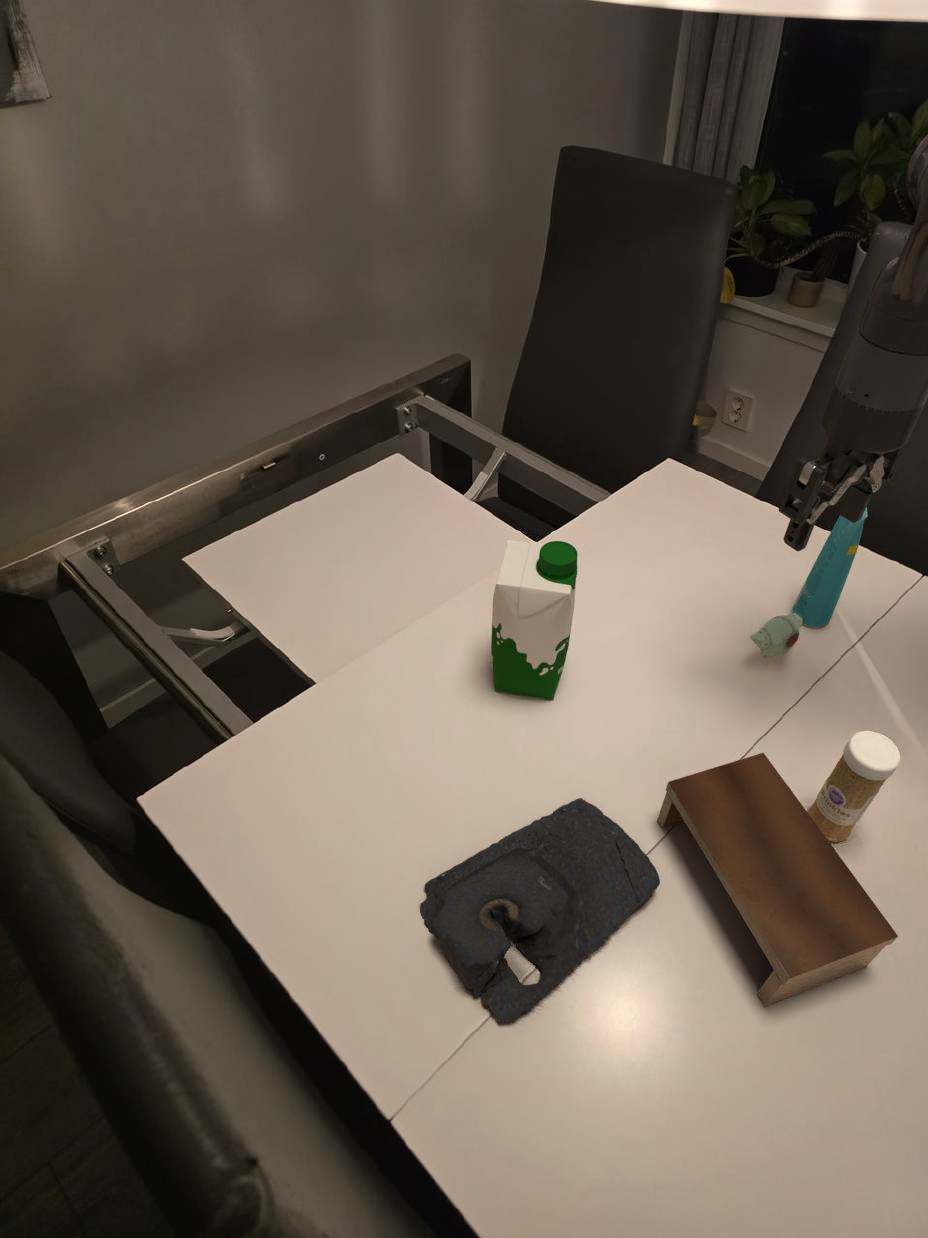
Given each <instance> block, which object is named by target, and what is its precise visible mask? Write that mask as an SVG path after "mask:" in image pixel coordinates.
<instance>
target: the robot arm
mask: <svg viewBox="0 0 928 1238" xmlns="http://www.w3.org/2000/svg"><path fill="white" fill-rule="evenodd" d="M905 187H906V188H905V189H906V192H907V195H908V198H909V200H910V201H911V203H912V205H913V207H914V208H915V209H916V211H917V212H916V215H915V219H914V222H913V225H912V228H911V230H910V232H909V235H908V238H907V239H906V242H905V243H904V246H903V248H902V250H901V251H900V254H899V256H897V257H895V258H893V259H892V260H890V261H889V262H888V263H886V264H885V266H884V267H883V268H882V270H881V271H880V273H879V275H878V277H877V279H876V281H875V283H874V285H873V288H872V290H871V293H870V296H869V298H868V301H867V303H866V307H865V309H864V312H863V315H862V317H861V319H860V322H859V324H858V325H859V326H858V328H857V330H856V332H855V334H854V336H853V338H852V340H851V342H850V344H849V346H848V348H847V350H846V352H845V354H844V357H843V359H842V362H841V365H840V367H839V370H838V373H837V376H836V377H835V381H834V384H833V387H832V390H831V392H830V395H829V398H828V400H827V403H826V406H825V408H824V411H823V414H822V416H821V423H820V424H821V427H822V430H823V432H824V434H825V436H826V439H827V443H826V445H825V446H824V448H823V450H822V451H821V453H820V454H819V456H818V458H817V459H815V460H813V461H812V460H810V459H808V458H807V457H805V456H803V457H801V458H800V459H799V460H798V461H797V463H796V465H795V466H794V469H793V472H792V473H791V474H792V475H791V477H790V479H789V482H788V484H787V487H786V490H785V492H784V495H783V497H782V499H781V502H780V505H779V507H778V512H779V513H780V514H782V515H783V516H785V517H787V518H788V519H790V520H789V522H788V524H787V528H786V530H785V533H784V536H783V538H782V539H783V543H784V544H785V545H787V546H788V547H790V548H791V549H793V550H794V551H796V552H801V551H802V550H805V549H806V548H807V545H808V544H809V541H810V538H811V535H812V533H813V530H814V528H815V525H816V524H817V519H818V518H819V517H820V516H821V514H822V513H823V512H824V511H825V510H826V508H827V507H829V506H834V505H836V504H837V503H838V501H839V500H840V499H841V498H842V496H843V495H844V494H845V495H844V498H843V500H842V502H841V505H840V507H839V509H838V513H839V516H840V515H841V516H842V517H844V518H846V519H847V520H849V521H850V522H852V523H855V522H857V521H859V520H861V518H862V516H863V514H864V512H865V509H866V507H867V508H868V506H869V502H870V501H871V498H872V496H873V493H876V492H878V491H879V489H880V488H881V486H882V484H883V481H886V482H890V481H891V480H893V479H894V477H895V476H896V473H897V470H898V468H899V466H900V464H901V461H902V459H903V457H904V454H905V452H906V450H907V449H908V448H907V447H908V445H909V443H910V441H911V438H912V436H913V433H914V428H915V426H916V425H917V422H918V420H919V418H920V416H921V414H922V411H923V410H924V407H925V405H926V403H927V401H928V134H927V135H925V137H924V138H923V139H922V140H921V141H920V142H919V144H918V145H917V146H916V148H915V150H914V151H913V153H912V154H911V156H910V158H909V161H908V164H907V167H906V171H905ZM885 459H887V460H888V464H887V465H886V464H884V463H885ZM824 485H825V486H828V487H829V488H830V489H833V490H831V491H829V492H826V491H824V490H823V489H821V488H822V486H824ZM817 498H818V501H817V502H816V500H817ZM815 502H816V504H815ZM814 504H815V505H814Z"/></svg>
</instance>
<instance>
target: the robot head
mask: <svg viewBox="0 0 928 1238" xmlns="http://www.w3.org/2000/svg"><path fill="white" fill-rule="evenodd" d="M802 625H803V624H802V618H801V617H800V616H799V615H797V614H796V613H793V614H792V613H790V614H784V615H783V614H782V615H776V616H773V617H771V618H770V619H768V620H767V621H765V622H764V624H763V625H762V626H761V627H760V628H759V629H758V630H757V631H755V632H754V633H753V634H751V635H750V636H749V639H750V640H751V641H752V642H753V643H754V645H755V647H757V648H758V650H759V652H760V654H761V655H762V656H763V657H764V658H765V659H775V658H778V657H781V656H782V655H784V654H787V652H789V651H790V650H791V649H793V647H795V644H796V643H797V642H798V641H799V637H800V635H801V634H800V630H801V628H802Z"/></svg>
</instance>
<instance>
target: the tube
mask: <svg viewBox="0 0 928 1238" xmlns="http://www.w3.org/2000/svg"><path fill="white" fill-rule="evenodd" d="M867 518H868V506H867V507H866V509H865V512H864V514H863V516H862V518H861V520H859V521H857V522H855V523H852V522H850V521H849V520H847V519H846V518H844V517H842V516H841V515H840V514H839V517H838V518H837V520H836V521H835V523H834V526H833V527H832V529H831V531H830V533H829V535H828V537H827V538H826V540H825V542H824V544H823V546H822V548H821V550H820V552H819V554H818V556H817V558H816V559H815V562H814V563H813V566H812V567H811V569H810V571H809V574H808V575H807V576H806V579H805V581H804V583H803V585H802V588H801V589H800V591H799V593H798V595H797V598H796V600H795V601H794V603H793V605H792V607H791V614H793V613H796V614H797V615H799V616H800V617H801V618H802V625H804V626H806V627H808V628H815V629H816V628H817V629H818V628H823V627H825V626H827V625H829V623H830V622H831V619H832V617H833V614H834V612H835V609H836V607H837V604H838V602H839V600H840V598H841V595H842V592H843V589H844V587H845V585H846V582H847V579H848V576H849V574H850V572H851V569H852V566H853V563H854V560H855V557H856V554H857V551H858V548H859V545H860V542H861V537H862V534H863V530H864V524H865V520H866V519H867Z"/></svg>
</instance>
